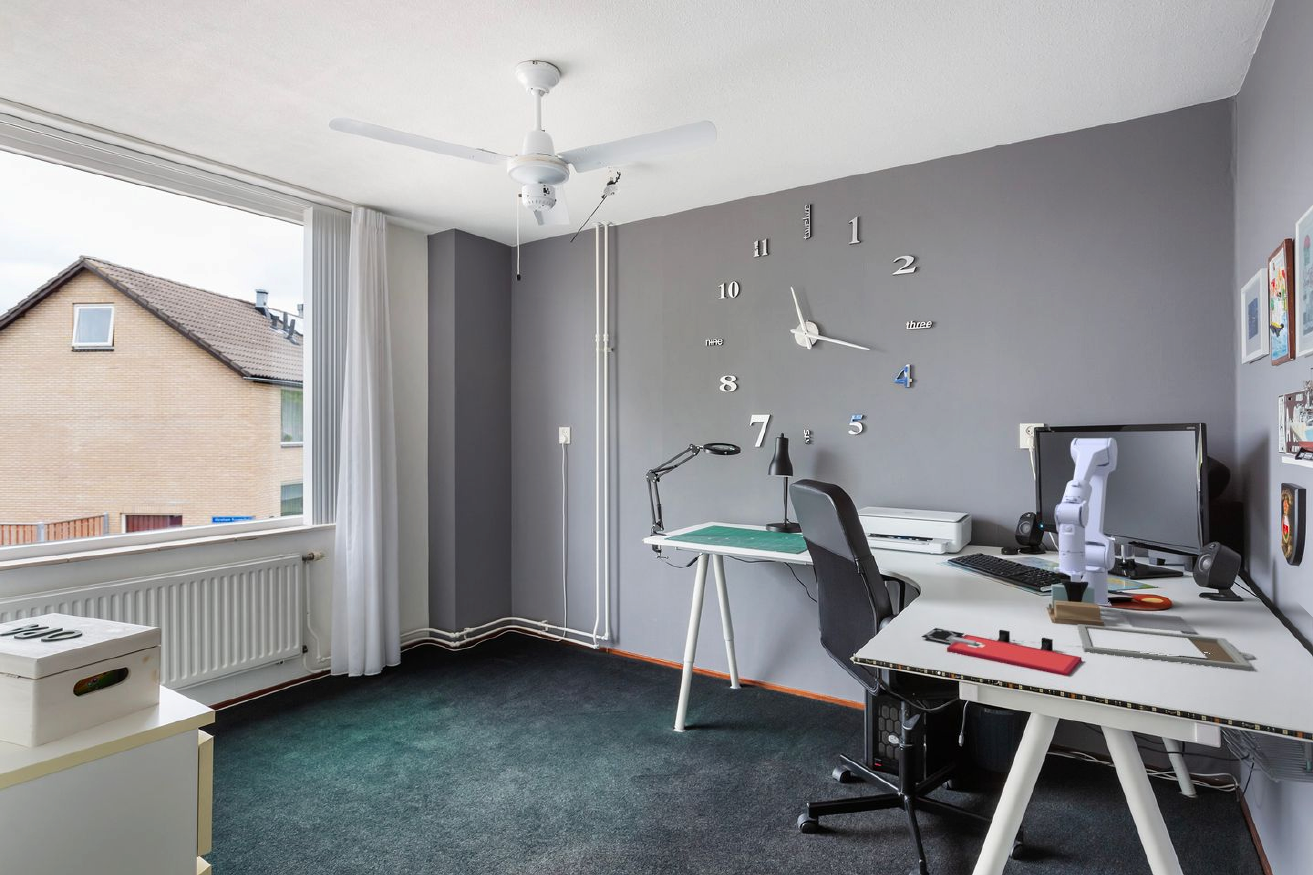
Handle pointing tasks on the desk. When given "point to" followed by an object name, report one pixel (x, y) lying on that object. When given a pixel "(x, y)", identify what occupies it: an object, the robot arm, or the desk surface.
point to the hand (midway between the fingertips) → (1072, 605)
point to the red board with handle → (1008, 651)
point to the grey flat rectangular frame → (1218, 657)
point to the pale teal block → (1061, 594)
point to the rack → (1072, 619)
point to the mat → (1159, 622)
